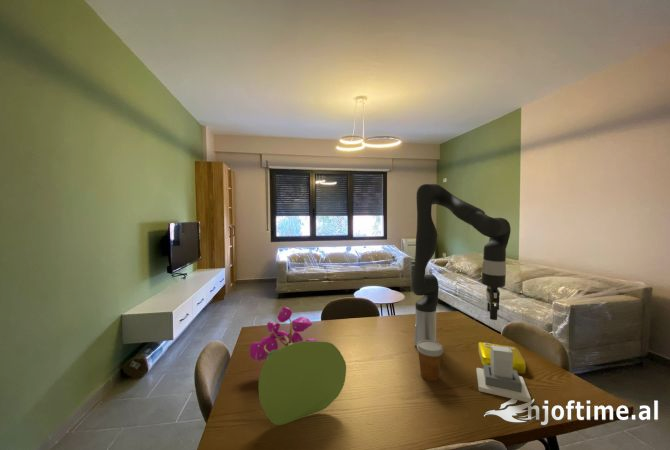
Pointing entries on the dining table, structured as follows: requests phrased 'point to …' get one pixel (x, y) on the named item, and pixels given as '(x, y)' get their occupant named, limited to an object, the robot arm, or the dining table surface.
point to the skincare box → (502, 362)
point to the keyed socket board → (502, 385)
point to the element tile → (486, 347)
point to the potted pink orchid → (296, 372)
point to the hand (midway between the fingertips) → (491, 315)
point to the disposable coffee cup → (429, 359)
